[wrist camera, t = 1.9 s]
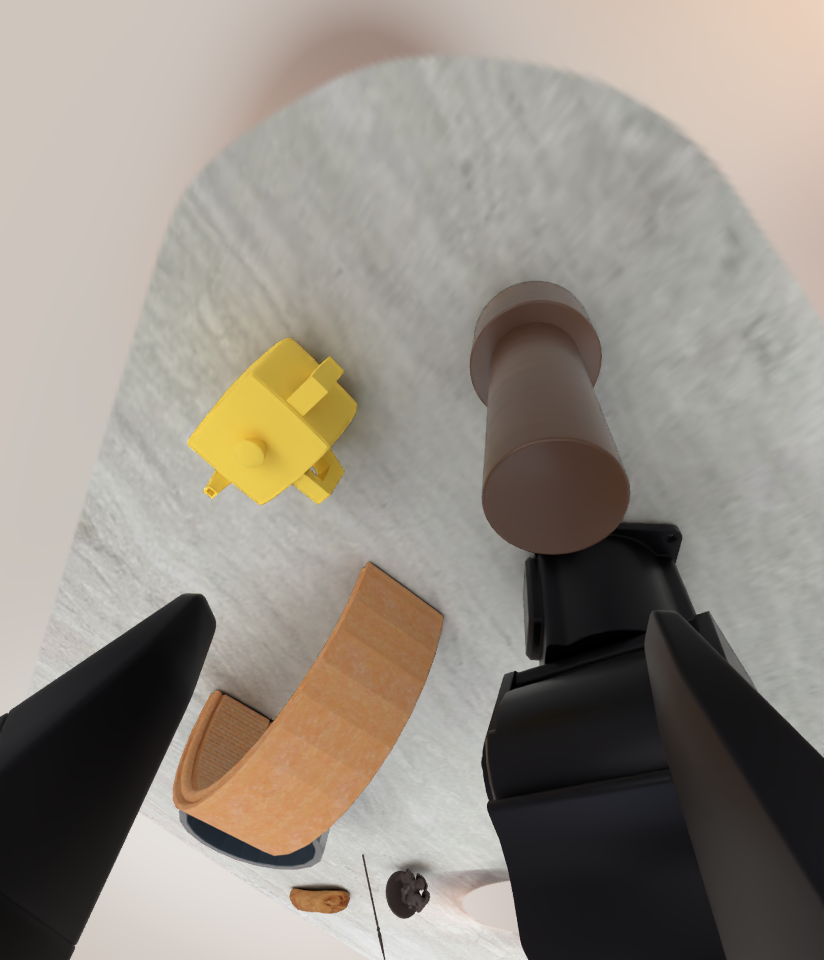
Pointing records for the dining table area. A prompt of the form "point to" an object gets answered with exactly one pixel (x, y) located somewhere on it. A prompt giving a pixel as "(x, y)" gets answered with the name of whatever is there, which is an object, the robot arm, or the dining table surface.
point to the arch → (314, 726)
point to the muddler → (545, 423)
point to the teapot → (277, 427)
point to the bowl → (252, 847)
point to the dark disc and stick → (403, 895)
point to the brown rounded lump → (319, 900)
